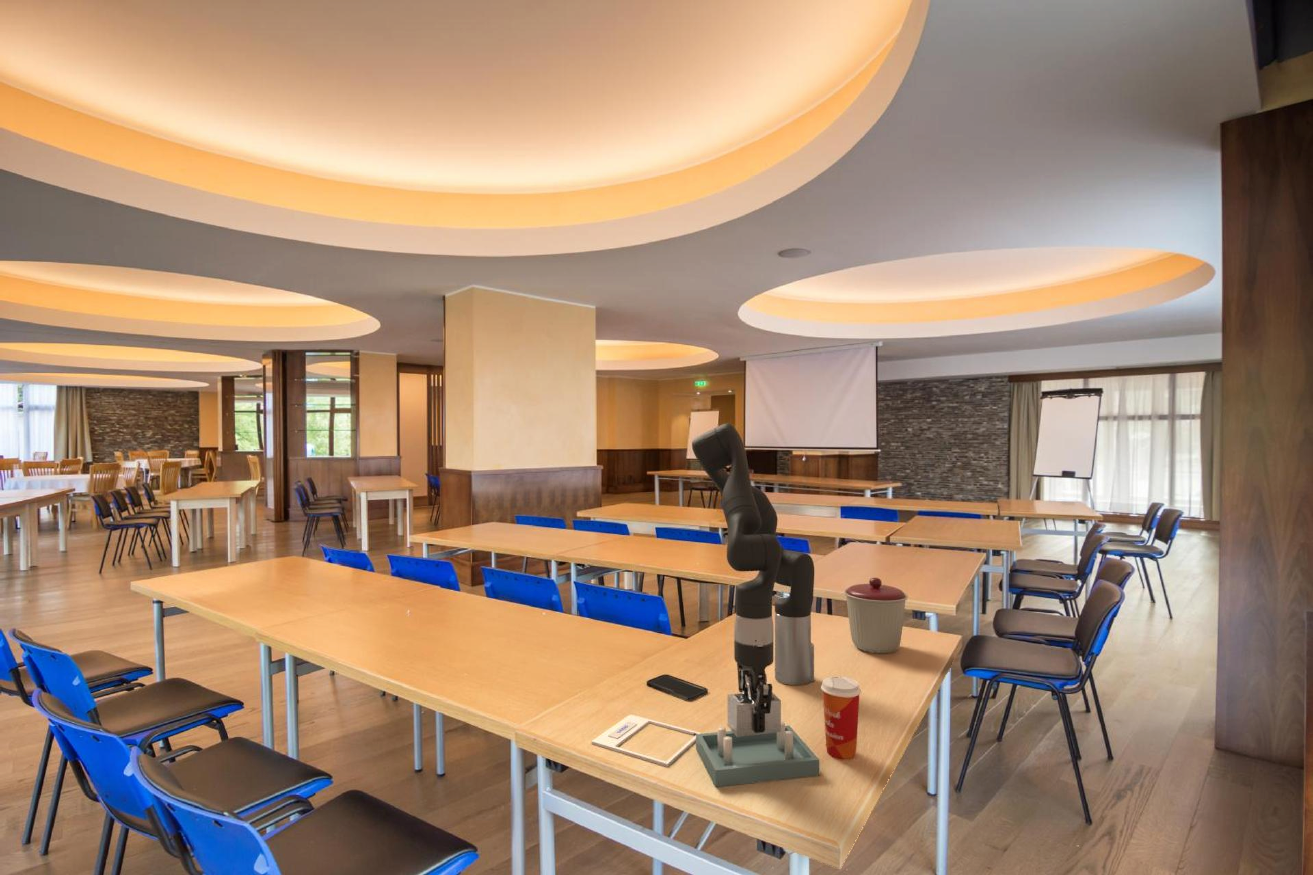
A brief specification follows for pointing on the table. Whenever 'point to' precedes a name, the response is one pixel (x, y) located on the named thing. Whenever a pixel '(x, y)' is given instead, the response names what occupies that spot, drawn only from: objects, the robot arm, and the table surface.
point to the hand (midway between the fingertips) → (753, 724)
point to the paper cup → (841, 716)
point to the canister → (875, 616)
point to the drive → (751, 715)
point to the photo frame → (629, 728)
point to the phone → (677, 687)
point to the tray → (755, 757)
